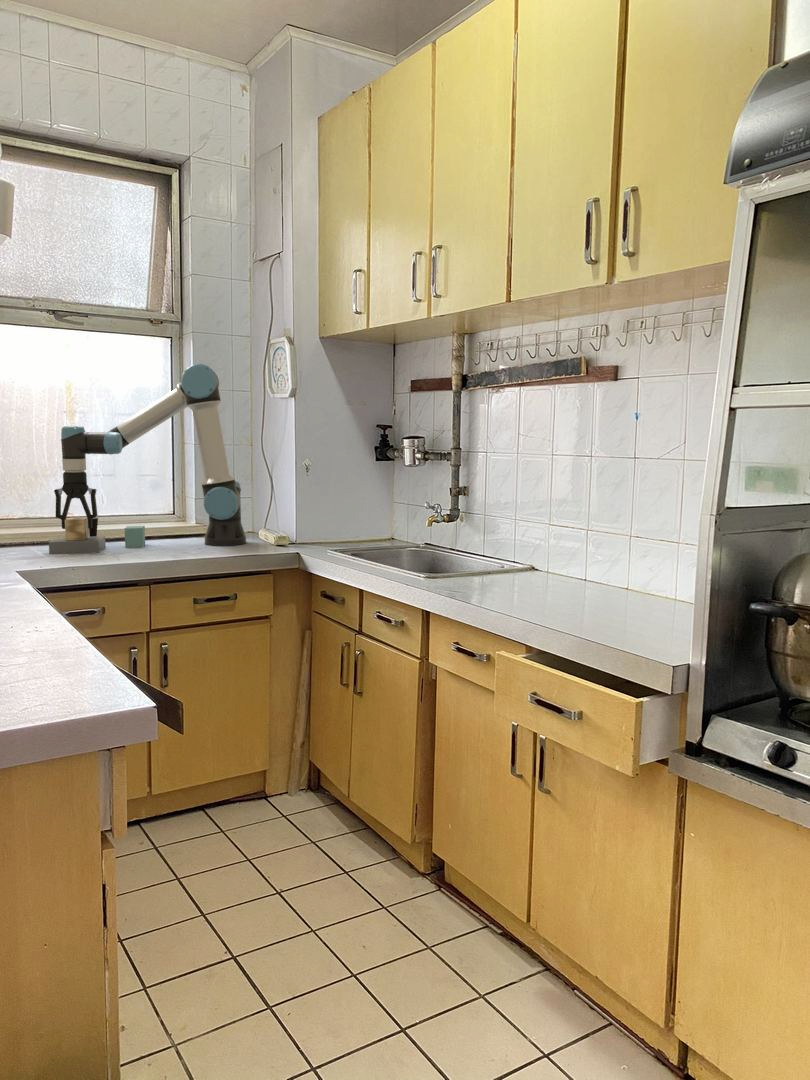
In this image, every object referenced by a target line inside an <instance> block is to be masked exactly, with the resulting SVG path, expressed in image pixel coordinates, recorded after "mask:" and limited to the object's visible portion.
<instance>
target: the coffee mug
mask: <svg viewBox="0 0 810 1080" xmlns="http://www.w3.org/2000/svg"><path fill="white" fill-rule="evenodd" d="M75 518H87V516H79V517H75ZM98 524H99V517H98V516H97V517H95V518H93V519H92V528H89V533H90V536H98Z"/></svg>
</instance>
